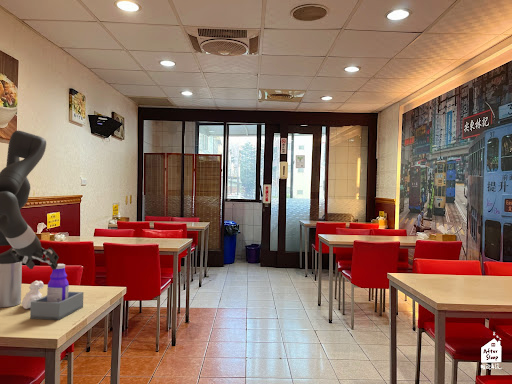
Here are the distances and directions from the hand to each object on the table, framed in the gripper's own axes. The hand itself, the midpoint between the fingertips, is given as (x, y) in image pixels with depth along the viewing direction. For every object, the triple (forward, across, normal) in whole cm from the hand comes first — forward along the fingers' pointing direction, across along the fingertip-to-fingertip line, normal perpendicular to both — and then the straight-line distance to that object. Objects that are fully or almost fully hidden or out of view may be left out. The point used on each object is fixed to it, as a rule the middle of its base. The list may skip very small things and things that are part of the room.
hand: (43, 267), depth 135 cm
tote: (+20, 0, +7) cm, 21 cm away
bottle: (+19, 0, +6) cm, 20 cm away
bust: (+25, +15, +3) cm, 29 cm away
